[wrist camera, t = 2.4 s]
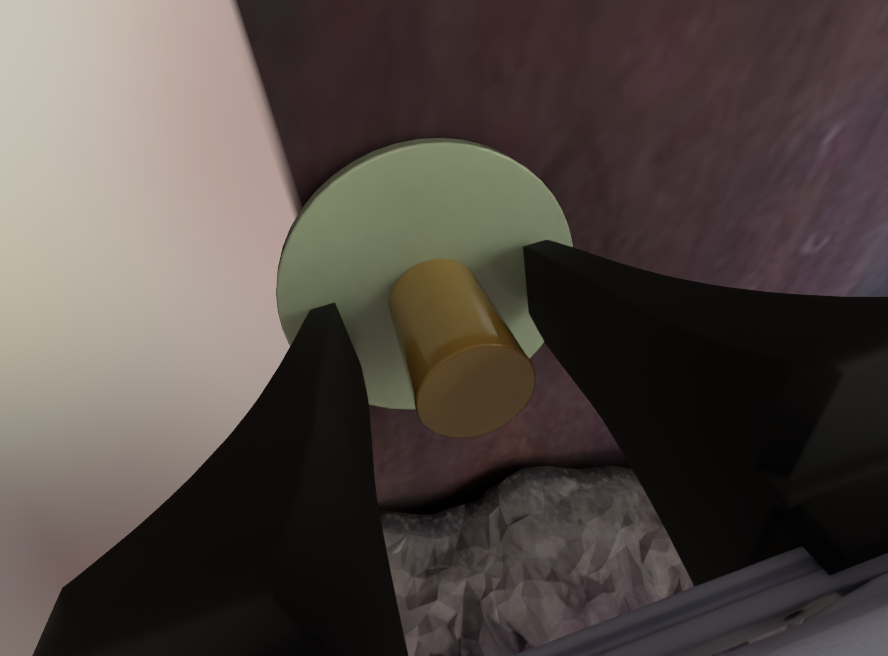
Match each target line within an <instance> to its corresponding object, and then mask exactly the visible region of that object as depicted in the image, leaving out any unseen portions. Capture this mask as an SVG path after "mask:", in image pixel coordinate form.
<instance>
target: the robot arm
mask: <svg viewBox="0 0 888 656" xmlns="http://www.w3.org/2000/svg"><path fill="white" fill-rule="evenodd" d="M523 254H524V266H525V277H526V289H527V300H528V312H529V315H530V317H531V318H532V320H533V322H534V324H535V326H536V328H537V330H538V331H539V333H540V335H541V337H542V338H543V340H544V342H545V343H546V345H547V346H548V348H549V349H550V350H551V352H552V353H553V354H554V356H555V357H556V358H557V360H558V361H559V362H560V363H561V365H562V366H563V367H564V369H565V370H566V371H567V373H568V374H569V375H570V377H571V378H572V379H573V380H574V382H575V383H576V384H577V386H578V387H579V388H580V390H581V391H582V392H583V393H584V395H585V396H586V397H587V399H588V400H589V401H590V403H591V404H592V405H593V407H594V408H595V409H596V411H597V412H598V414H599V415H600V417H601V418H602V420H603V421H604V423H605V424H606V426H607V428H608V429H609V431H610V433H611V434H612V436H613V438H614V439H615V441H616V443H617V444H618V446H619V448H620V449H621V451H622V452H623V454H624V456H625V458H626V459H627V461H628V463H629V465H630V466H631V468H632V470H633V472H634V473H635V475H636V477H637V479H638V480H639V482H640V484H641V486H642V487H643V489H644V491H645V493H646V495H647V497H648V498H649V500H650V502H651V504H652V506H653V508H654V510H655V511H656V513H657V515H658V517H659V519H660V521H661V522H662V524H663V526H664V528H665V530H666V532H667V534H668V536H669V538H670V540H671V542H672V544H673V546H674V547H675V549H676V551H677V553H678V555H679V557H680V559H681V561H682V563H683V565H684V567H685V569H686V571H687V573H688V575H689V577H690V579H691V581H692V583H693V585H694V587H693V588H690V589H687V590H685V591H682V592H679V593H677V594H674V595H671V596H669V597H666V598H664V599H661V600H658V601H656V602H653V603H650V604H648V605H645V606H642V607H640V608H637V609H635V610H632V611H629V612H627V613H624V614H621V615H619V616H616V617H613V618H611V619H608V620H605V621H603V622H600V623H598V624H595V625H592V626H590V627H587V628H584V629H582V630H579V631H576V632H574V633H571V634H569V635H566V636H563V637H561V638H558V639H555V640H553V641H550V642H547V643H545V644H542V645H540V646H537V647H534V648H532V649H529V650H526V651H524V652H521V653H518V654H516V655H513V656H711V655H713V654H716V653H718V652H721V651H723V650H726V649H728V648H731V647H733V646H736V645H738V644H741V643H743V642H746V641H749V640H751V639H754V638H756V637H759V636H761V635H764V634H766V633H769V632H771V631H774V630H776V629H779V628H781V627H784V626H787V625H789V624H792V623H794V622H797V621H799V620H802V619H804V618H805V619H804V620H803V622H802V624H800V625H797V626H795V627H792V628H789V629H787V630H784V631H782V632H779V633H777V634H774V635H772V636H769V637H767V638H764V639H762V640H759V641H757V642H754V643H752V644H749V645H747V646H744V647H741V648H739V649H736V650H734V651H731V652H729V653H726V654H724V655H721V656H888V297H836V296H817V295H798V294H785V293H773V292H763V291H755V290H746V289H738V288H730V287H723V286H716V285H710V284H704V283H699V282H694V281H689V280H684V279H678V278H674V277H669V276H665V275H661V274H657V273H653V272H650V271H646V270H642V269H638V268H635V267H631V266H628V265H625V264H621V263H618V262H615V261H612V260H609V259H606V258H603V257H600V256H597V255H594V254H591V253H588V252H585V251H582V250H579V249H576V248H573V247H570V246H567V245H564V244H561V243H558V242H554V241H550V240H543V241H540V242H536V243H533V244H529V245H526V246H523ZM33 656H408V651H407V646H406V642H405V637H404V633H403V628H402V623H401V619H400V614H399V609H398V604H397V599H396V595H395V590H394V585H393V580H392V575H391V570H390V565H389V560H388V555H387V549H386V544H385V539H384V534H383V528H382V523H381V517H380V512H379V506H378V501H377V495H376V487H375V479H374V465H373V452H372V439H371V425H370V413H369V401H368V395H367V390H366V385H365V380H364V376H363V371H362V367H361V363H360V361H359V359H358V356H357V354H356V351H355V349H354V347H353V344H352V342H351V339H350V337H349V335H348V332H347V330H346V327H345V325H344V323H343V320H342V318H341V315H340V313H339V311H338V308H337V306H336V303H335V302H334V303H331V304H328V305H324V306H321V307H318V308H314V309H311V310H310V311H309V312H308V314H307V316H306V318H305V320H304V321H303V323H302V325H301V327H300V329H299V331H298V333H297V335H296V337H295V339H294V340H293V342H292V344H291V346H290V348H289V350H288V352H287V353H286V355H285V357H284V359H283V360H282V362H281V364H280V366H279V367H278V369H277V370H276V372H275V374H274V375H273V377H272V378H271V380H270V381H269V383H268V384H267V386H266V387H265V389H264V391H263V392H262V394H261V395H260V397H259V398H258V399H257V401H256V402H255V404H254V405H253V406H252V408H251V409H250V410H249V412H248V413H247V414H246V416H245V417H244V418H243V419H242V420H241V422H240V423H239V424H238V425H237V427H236V428H235V429H234V431H233V432H232V433H231V434H230V435H229V437H228V438H227V439H226V440H225V441H224V442H223V443H222V444H221V445H220V446H219V447H218V449H217V450H216V451H215V452H214V453H213V454H212V455H211V456H210V457H209V458H208V459H207V460H206V461H205V463H204V464H203V465H202V466H201V467H200V468H199V469H198V470H197V471H196V472H195V473H194V474H193V475H192V476H191V477H190V479H188V481H187V482H185V483H184V484H183V485H182V486H181V487H180V488H179V489H178V490H177V491H176V492H175V493H174V494H173V495H172V496H171V497H170V498H169V499H168V500H167V501H165V502H164V503H163V504H162V505H161V506H160V507H159V508H158V509H157V510H156V511H155V512H153V513H152V514H151V515H150V516H149V517H148V518H147V519H146V520H145V521H143V522H142V523H141V524H140V525H139V526H138V527H137V528H136V529H134V530H133V531H132V532H131V533H130V534H129V535H127V536H126V537H125V538H124V539H122V540H121V541H120V542H119V543H117V544H116V545H115V546H114V547H113V548H111V549H110V550H109V551H108V552H106V553H105V554H104V555H103V556H102V557H100V558H99V559H98V560H97V561H96V562H94V563H93V564H92V565H91V566H89V567H88V568H87V569H86V570H85V571H83V572H82V573H81V574H80V575H78V576H77V577H76V578H75V579H73V580H72V581H71V582H70V583H68V584H67V585H66V586H64V587H63V588H62V590H61V592H60V594H59V597H58V599H57V601H56V604H55V605H54V608H53V610H52V613H51V615H50V617H49V619H48V622H47V624H46V626H45V629H44V631H43V633H42V635H41V638H40V640H39V642H38V644H37V647H36V649H35V651H34V654H33Z"/></svg>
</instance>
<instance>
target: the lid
mask: <svg viewBox="0 0 888 656" xmlns="http://www.w3.org/2000/svg"><path fill="white" fill-rule="evenodd" d="M543 240H550V241H554V242H558V243H561V244H564V245H567V246H570V247H573V246H572V239H571V235H570V230H569V226H568V223H567V221H566V218H565V216H564V213H563V211H562V209H561V207H560V205H559V204H558V202H557V200H556V199H555V197H554V195H553V194H552V193H551V191H550V190H549V189H548V188H547V187H546V185H545V184H544V183H543V182H542V181H541V180H540V179H539V178H538V177H537V176H536V175H534V174H533V173H532V172H531V171H530V170H529V169H527V168H526V167H525V166H523V165H522V164H521V163H519V162H517V161H516V160H514V159H512V158H511V157H509V156H508V155H506V154H504V153H502V152H500V151H498V150H495V149H493V148H490V147H488V146H485V145H482V144H478V143H474V142H470V141H466V140H459V139H449V138H428V139H416V140H411V141H406V142H401V143H395V144H392V145H390V146H387V147H384V148H381V149H378V150H375V151H372V152H370V153H369V154H367V155H365V156H363V157H361V158H359V159H357V160H355V161H353V162H351V163H350V164H348V165H347V166H345V167H344V168H343V169H341V170H340V171H338V172H337V173H335V174H334V175H332V176H331V177H330V178H329V179H328V180H327V181H326V182H325V183H324V184H323V185H322V186H321V187H320V188H319V189H317V190H316V191H315V193H314V194H313V195H312V196H311V198H310V199H309V200H308V201H307V203H306V204H305V205H304V206H303V208H302V209H301V211H300V212H299V214H298V216H297V217H296V219H295V221H294V222H293V224H292V226H291V228H290V230H289V233H288V235H287V238H286V240H285V243H284V245H283V249H282V253H281V257H280V262H279V266H278V275H277V288H276V296H277V307H278V313H279V317H280V321H281V325H282V329H283V331H284V333H285V335H286V338H287V340H288V342H289V344H290V346H291V344H292V342H293V340H294V339H295V337H296V335H297V333H298V331H299V329H300V327H301V325H302V323H303V321H304V320H305V318H306V316H307V314H308V312H309V311H310V310H311V309H314V308H318V307H321V306H324V305H328V304H331V303H334V302H335V303H336V306H337V308H338V311H339V313H340V315H341V318H342V320H343V323H344V325H345V327H346V330H347V332H348V335H349V337H350V339H351V342H352V344H353V347H354V349H355V351H356V354H357V356H358V359H359V361H360V363H361V367H362V371H363V376H364V380H365V385H366V390H367V395H368V401H369V405H373V406H378V407H383V408H392V409H416V412H417V414H418V417H419V419H420V420H421V421H422V423H423V424H424V425H425V426H426V427H427V428H429V429H430V430H431V431H433V432H435V433H437V434H439V435H442V436H446V437H452V438H468V437H474V436H479V435H483V434H486V433H489V432H491V431H493V430H496V429H498V428H500V427H501V426H503V425H505V424H506V423H508V422H509V421H511V420H512V419H513V418H514V417H515V416H517V415H518V414H519V413H520V412H521V411H522V409H523V408H524V407H525V406H526V404H527V403H528V401H529V400H530V398H531V395H532V393H533V390H534V387H535V370H534V367H533V364H532V362H531V361H530V358H531V357H532V356H533V355H534V353H535V352H536V351H537V350H538V349H539V348H540V347H541V345H542V344H543V343H544V340H543V338H542V337H541V335H540V333H539V331H538V330H537V328H536V326H535V324H534V322H533V320H532V318H531V317H530V315H529V312H528V300H527V289H526V277H525V266H524V254H523V246H526V245H529V244H533V243H536V242H540V241H543Z"/></svg>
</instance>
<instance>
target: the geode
mask: <svg viewBox="0 0 888 656" xmlns="http://www.w3.org/2000/svg"><path fill="white" fill-rule="evenodd" d="M379 512H380V517H381V523H382V528H383V534H384V539H385V544H386V549H387V555H388V560H389V565H390V570H391V575H392V580H393V585H394V590H395V595H396V599H397V604H398V609H399V614H400V619H401V623H402V628H403V633H404V637H405V642H406V646H407V651H408V656H513V655H516V654H518V653H521V652H524V651H526V650H529V649H532V648H534V647H537V646H540V645H542V644H545V643H547V642H550V641H553V640H555V639H558V638H561V637H563V636H566V635H569V634H571V633H574V632H576V631H579V630H582V629H584V628H587V627H590V626H592V625H595V624H598V623H600V622H603V621H605V620H608V619H611V618H613V617H616V616H619V615H621V614H624V613H627V612H629V611H632V610H635V609H637V608H640V607H642V606H645V605H648V604H650V603H653V602H656V601H658V600H661V599H664V598H666V597H669V596H671V595H674V594H677V593H679V592H682V591H685V590H687V589H690V588H693V587H694V585H693V583H692V581H691V579H690V577H689V575H688V573H687V571H686V569H685V567H684V565H683V563H682V561H681V559H680V557H679V555H678V553H677V551H676V549H675V547H674V546H673V544H672V542H671V540H670V538H669V536H668V534H667V532H666V530H665V528H664V526H663V524H662V522H661V521H660V519H659V517H658V515H657V513H656V511H655V510H654V508H653V506H652V504H651V502H650V500H649V498H648V497H647V495H646V493H645V491H644V489H643V487H642V486H641V484H640V482H639V480H638V479H637V477H636V475H635V473H634V472H633V470H632V469H631V468H625V467H619V466H613V465H610V466H603V467H596V468H588V469H575V468H562V467H554V466H536V467H525V468H522V469H521V470H519V471H517V472H515V473H513V474H512V475H510V476H508V477H507V478H505V479H503V480H502V481H500V482H499V483H497V484H496V485H494V486H493V487H491V488H490V489H488V490H487V491H486V492H485V494H484V495H483V496H482V498H481V499H480V500H477V501H474V502H470V503H467V504H463V505H460V506H457V507H453V508H450V509H446V510H444V511H441V512H439V513H436V514H433V515H420V514H409V513H401V512H394V511H382V510H379ZM804 619H805V618H804ZM804 619H802V620H799V621H797V622H794V623H792V624H789V625H787V626H784V627H781V628H779V629H776V630H774V631H771V632H769V633H766V634H764V635H761V636H759V637H756V638H754V639H751V640H749V641H746V642H743V643H741V644H738V645H736V646H733V647H731V648H728V649H726V650H723V651H721V652H718V653H716V654H713V655H711V656H721V655H724V654H726V653H729V652H731V651H734V650H736V649H739V648H741V647H744V646H747V645H749V644H752V643H754V642H757V641H759V640H762V639H764V638H767V637H769V636H772V635H774V634H777V633H779V632H782V631H784V630H787V629H789V628H792V627H795V626H797V625H800V624H802V622H803V620H804Z"/></svg>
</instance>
